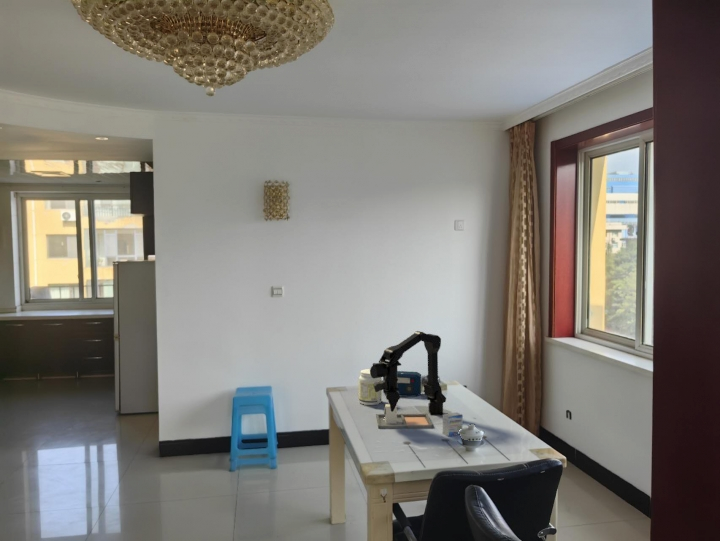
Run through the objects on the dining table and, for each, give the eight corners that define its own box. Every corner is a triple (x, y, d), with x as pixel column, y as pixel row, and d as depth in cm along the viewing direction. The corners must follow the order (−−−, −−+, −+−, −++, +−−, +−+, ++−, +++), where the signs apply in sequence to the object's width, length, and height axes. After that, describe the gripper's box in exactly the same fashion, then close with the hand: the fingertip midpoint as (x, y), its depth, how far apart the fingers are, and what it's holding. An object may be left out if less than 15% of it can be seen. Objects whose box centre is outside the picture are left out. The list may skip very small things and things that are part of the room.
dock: (427, 416, 257) (427, 413, 257) (433, 428, 240) (433, 425, 240) (375, 417, 256) (375, 414, 256) (378, 429, 239) (378, 425, 239)
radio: (382, 395, 295) (383, 359, 294) (384, 391, 303) (384, 356, 303) (420, 397, 291) (420, 361, 290) (421, 392, 300) (421, 358, 299)
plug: (395, 420, 250) (395, 404, 250) (396, 423, 246) (396, 406, 246) (384, 420, 250) (384, 404, 250) (384, 423, 246) (384, 406, 246)
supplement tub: (367, 398, 289) (367, 367, 288) (385, 401, 282) (386, 370, 281) (354, 403, 279) (354, 371, 279) (373, 407, 272) (373, 375, 271)
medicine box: (448, 436, 230) (448, 417, 230) (442, 433, 234) (442, 414, 234) (462, 433, 234) (462, 414, 233) (456, 430, 238) (456, 411, 237)
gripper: (373, 371, 256) (372, 402, 257) (375, 380, 237) (375, 414, 238) (395, 370, 257) (395, 402, 257) (400, 380, 238) (399, 414, 239)
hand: (391, 408), depth 248 cm, fingers open, 9 cm apart
